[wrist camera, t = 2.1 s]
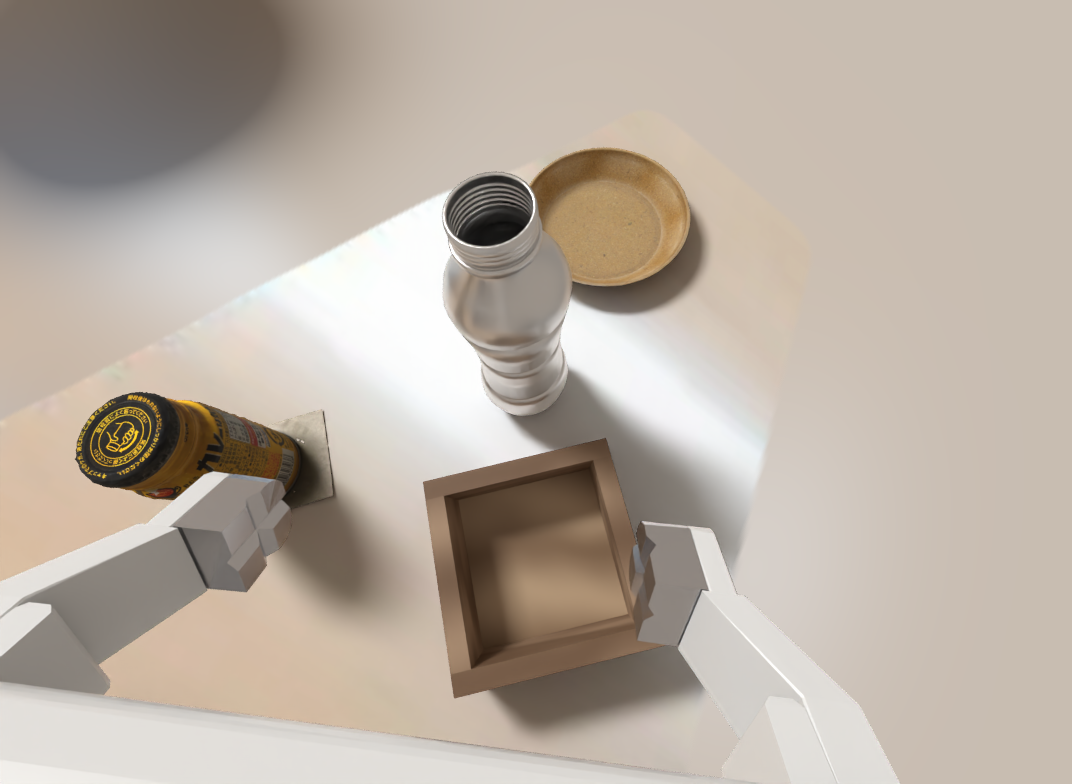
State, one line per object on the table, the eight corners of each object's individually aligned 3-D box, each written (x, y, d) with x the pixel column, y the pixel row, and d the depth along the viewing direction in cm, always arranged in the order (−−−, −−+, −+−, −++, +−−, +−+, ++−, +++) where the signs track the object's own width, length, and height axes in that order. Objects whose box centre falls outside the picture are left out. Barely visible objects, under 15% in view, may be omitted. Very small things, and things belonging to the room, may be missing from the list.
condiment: (222, 439, 35) (60, 395, 24) (323, 409, 35) (210, 352, 24) (227, 528, 33) (50, 527, 21) (335, 496, 33) (217, 478, 22)
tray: (648, 626, 29) (665, 645, 24) (471, 670, 29) (454, 698, 24) (599, 451, 33) (605, 438, 28) (442, 488, 33) (423, 481, 28)
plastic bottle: (471, 382, 35) (368, 209, 16) (532, 332, 36) (503, 116, 17) (521, 439, 34) (471, 320, 15) (584, 384, 35) (614, 209, 16)
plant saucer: (627, 147, 43) (632, 123, 40) (715, 256, 38) (726, 237, 36) (496, 208, 41) (492, 187, 39) (571, 329, 37) (571, 314, 34)
